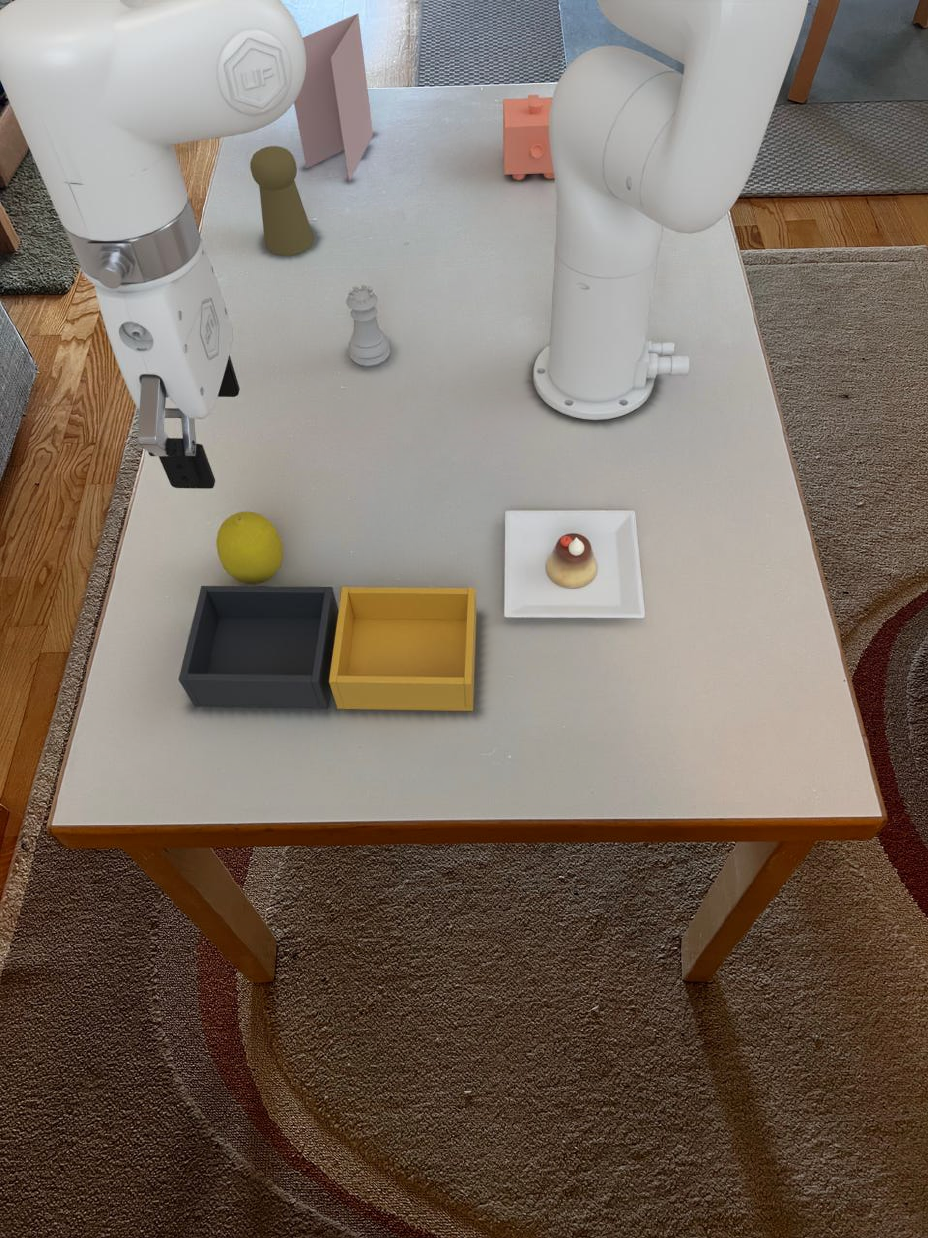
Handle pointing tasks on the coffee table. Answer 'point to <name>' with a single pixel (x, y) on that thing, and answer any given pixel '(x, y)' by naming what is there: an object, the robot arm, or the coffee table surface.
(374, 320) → the rook chess piece
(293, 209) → the pawn chess piece
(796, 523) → the coffee table surface
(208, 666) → the charcoal bin
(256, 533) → the lemon
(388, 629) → the ochre bin
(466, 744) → the coffee table surface
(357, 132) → the greeting card
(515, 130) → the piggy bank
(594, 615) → the dessert
